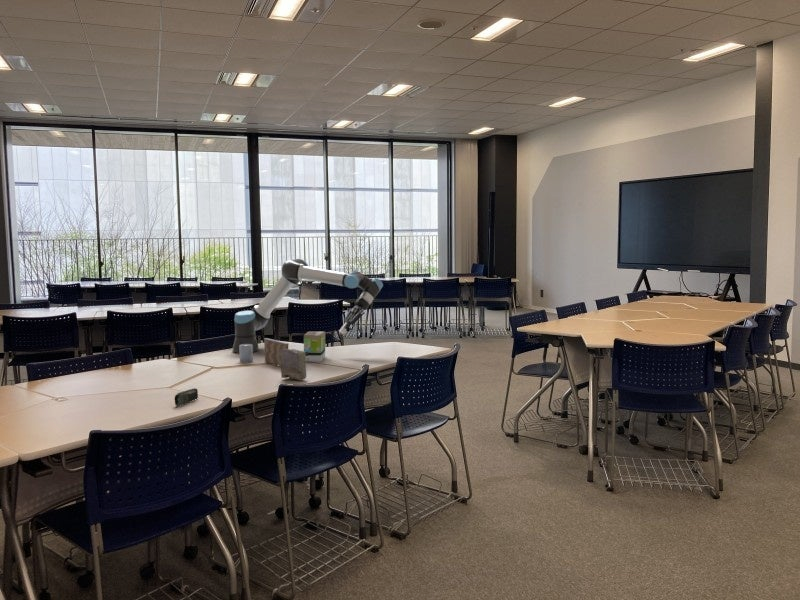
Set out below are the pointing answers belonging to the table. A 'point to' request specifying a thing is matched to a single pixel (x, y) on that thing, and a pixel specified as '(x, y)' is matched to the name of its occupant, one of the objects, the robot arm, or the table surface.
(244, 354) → the grey capsule cylinder
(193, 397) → the dark grey elongated bar
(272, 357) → the board
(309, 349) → the tea box
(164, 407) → the table surface
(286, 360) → the geological specimen
